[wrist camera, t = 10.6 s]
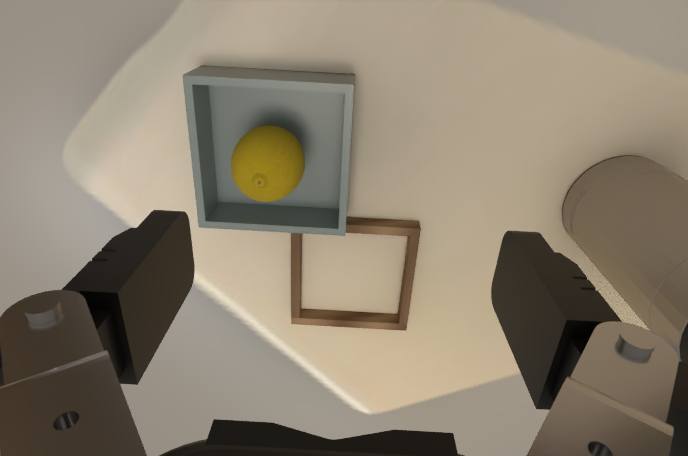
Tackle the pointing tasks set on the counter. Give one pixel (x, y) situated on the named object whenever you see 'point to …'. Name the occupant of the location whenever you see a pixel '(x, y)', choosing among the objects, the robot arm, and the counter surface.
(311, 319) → the tray
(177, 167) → the counter surface
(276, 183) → the lemon
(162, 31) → the counter surface
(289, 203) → the bin
